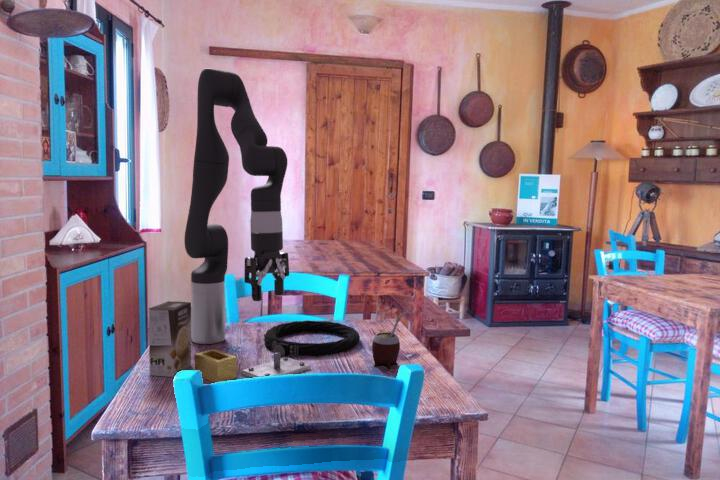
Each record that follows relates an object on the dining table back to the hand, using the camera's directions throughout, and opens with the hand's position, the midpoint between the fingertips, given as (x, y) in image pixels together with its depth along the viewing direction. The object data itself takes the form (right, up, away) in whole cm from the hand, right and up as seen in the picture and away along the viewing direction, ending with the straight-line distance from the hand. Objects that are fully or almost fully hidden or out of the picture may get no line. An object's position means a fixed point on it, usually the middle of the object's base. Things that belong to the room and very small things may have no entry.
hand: (268, 297), depth 134 cm
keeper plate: (+2, -18, +2) cm, 18 cm away
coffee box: (-24, -18, +1) cm, 30 cm away
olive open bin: (-12, -18, -2) cm, 22 cm away
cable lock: (+8, -16, +25) cm, 31 cm away
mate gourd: (+29, -18, +7) cm, 35 cm away
